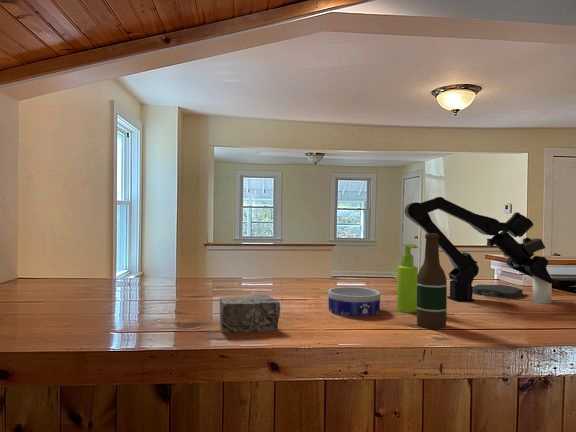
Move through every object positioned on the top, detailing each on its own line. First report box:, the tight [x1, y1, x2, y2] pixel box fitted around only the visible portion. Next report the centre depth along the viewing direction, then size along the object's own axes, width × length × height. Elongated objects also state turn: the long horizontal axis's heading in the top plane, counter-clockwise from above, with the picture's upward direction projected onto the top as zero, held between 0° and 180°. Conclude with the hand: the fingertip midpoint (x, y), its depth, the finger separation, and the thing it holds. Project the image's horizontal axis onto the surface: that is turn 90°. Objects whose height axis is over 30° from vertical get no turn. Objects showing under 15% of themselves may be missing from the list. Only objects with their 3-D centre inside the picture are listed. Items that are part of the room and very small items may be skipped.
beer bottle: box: [416, 233, 448, 330], centre depth 106 cm, size 8×8×24 cm
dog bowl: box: [327, 286, 381, 318], centre depth 122 cm, size 15×15×6 cm
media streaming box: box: [472, 283, 524, 300], centre depth 150 cm, size 15×15×3 cm
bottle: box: [531, 274, 553, 305], centre depth 137 cm, size 5×5×12 cm
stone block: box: [219, 293, 281, 333], centre depth 103 cm, size 14×9×8 cm, turn 108°
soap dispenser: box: [396, 243, 419, 314], centre depth 122 cm, size 6×7×20 cm
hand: (544, 280), depth 137 cm, fingers open, 9 cm apart
